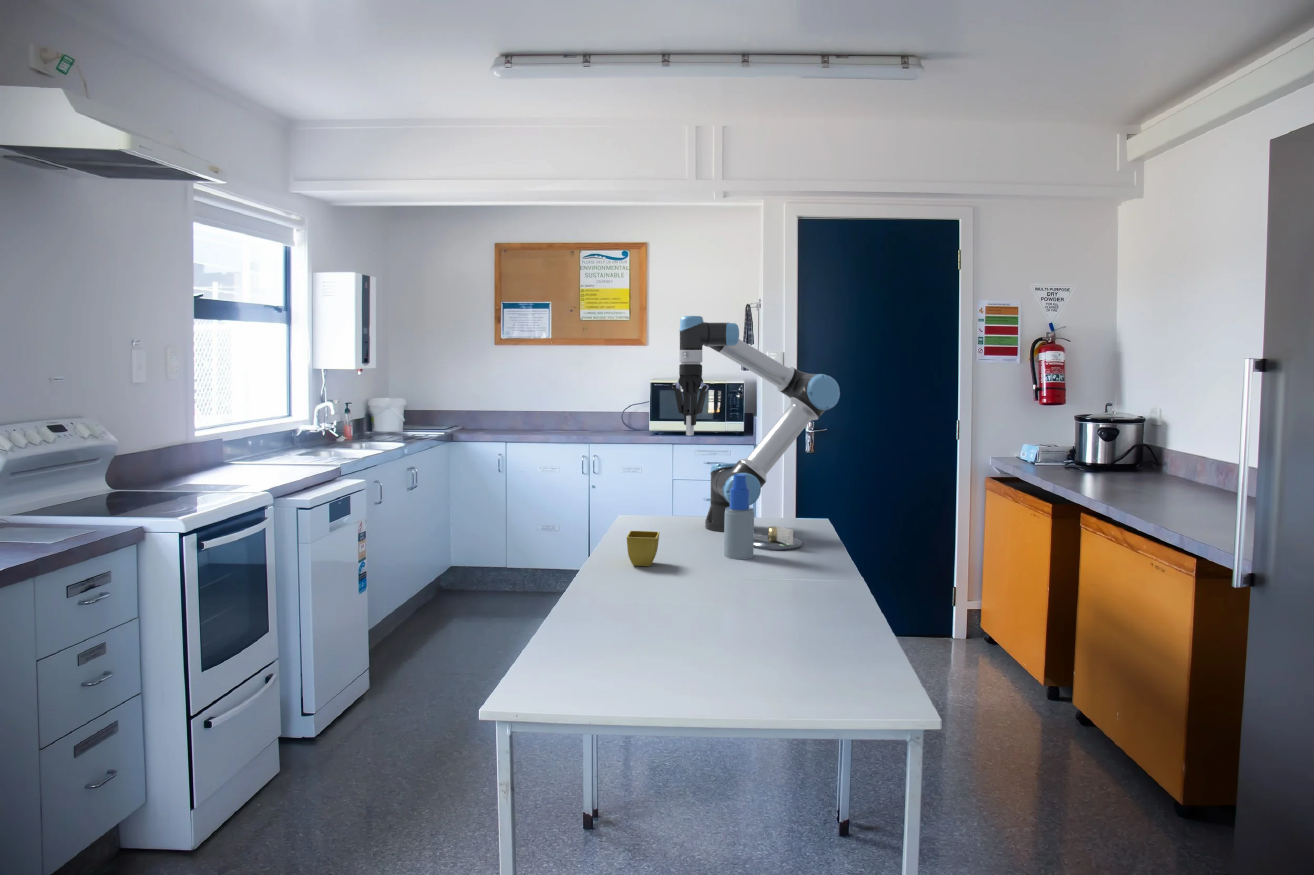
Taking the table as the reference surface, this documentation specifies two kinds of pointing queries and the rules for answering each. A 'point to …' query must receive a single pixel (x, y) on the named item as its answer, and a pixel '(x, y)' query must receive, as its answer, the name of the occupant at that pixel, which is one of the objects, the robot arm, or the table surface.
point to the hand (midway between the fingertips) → (689, 435)
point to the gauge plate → (775, 544)
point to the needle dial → (780, 535)
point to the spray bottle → (739, 521)
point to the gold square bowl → (642, 547)
